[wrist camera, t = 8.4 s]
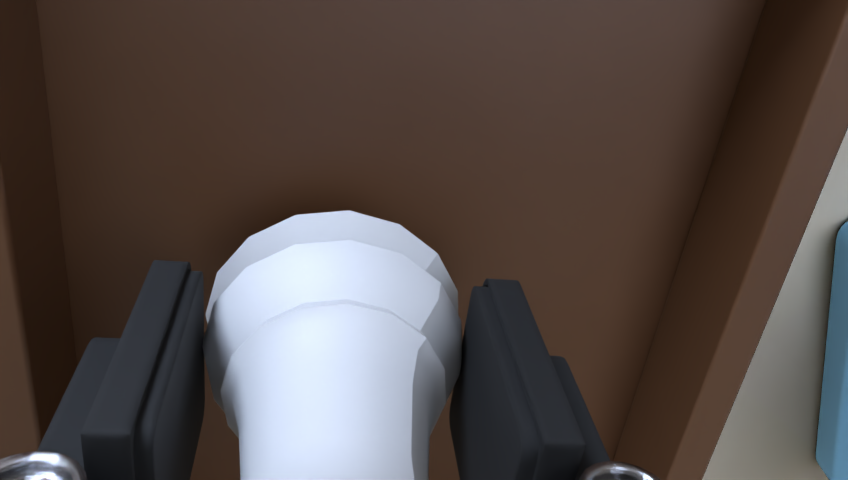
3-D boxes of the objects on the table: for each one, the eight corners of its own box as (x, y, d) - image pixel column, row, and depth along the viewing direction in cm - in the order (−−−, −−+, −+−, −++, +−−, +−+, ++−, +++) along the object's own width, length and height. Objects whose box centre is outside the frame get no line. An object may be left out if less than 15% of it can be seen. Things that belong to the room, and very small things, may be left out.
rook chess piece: (354, 146, 12) (385, 571, 5) (502, 319, 14) (667, 794, 7) (155, 294, 13) (-49, 824, 6) (319, 437, 15) (307, 961, 8)
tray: (-42, -361, 10) (-174, -429, 8) (852, -208, 12) (993, -219, 10) (74, 532, 18) (31, 649, 16) (598, 533, 20) (638, 637, 18)
